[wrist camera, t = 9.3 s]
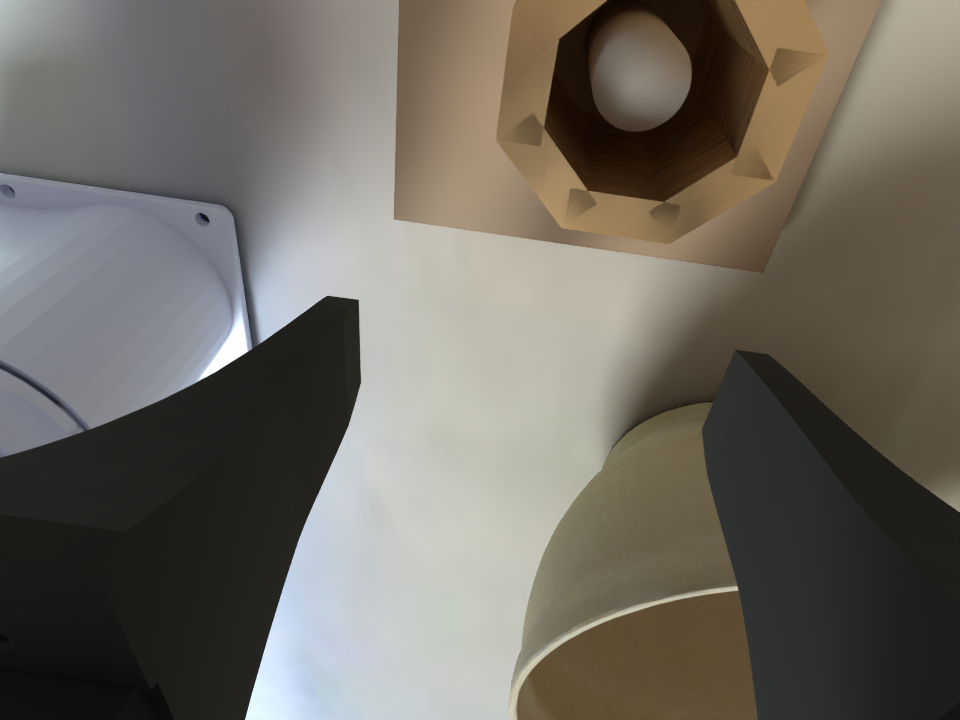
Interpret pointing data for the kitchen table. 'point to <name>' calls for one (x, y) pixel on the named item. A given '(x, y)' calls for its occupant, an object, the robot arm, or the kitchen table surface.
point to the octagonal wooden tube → (677, 142)
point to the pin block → (595, 88)
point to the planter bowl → (638, 594)
